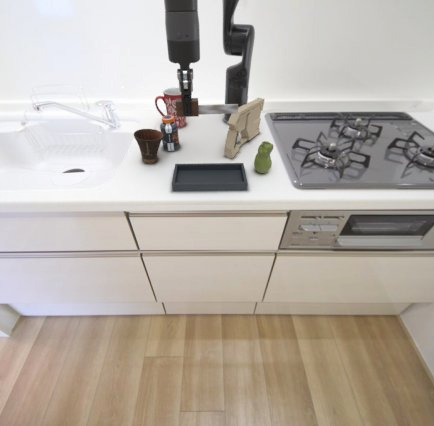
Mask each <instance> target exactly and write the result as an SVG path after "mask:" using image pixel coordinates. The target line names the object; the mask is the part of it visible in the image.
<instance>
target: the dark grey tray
mask: <svg viewBox="0 0 434 426" xmlns="http://www.w3.org/2000/svg"><path fill="white" fill-rule="evenodd" d="M248 183H249V182H248V179H247V173H246V169H245V165H244V162H226V163H225V162H219V163H217V162H216V163H215V162H213V163H211V162H210V163H205V162H204V163H175V164H174V168H173V176H172V181H171V188H172V192H214V191H215V192H217V191H218V192H219V191H221V192H223V191H224V192H226V191H229V192H230V191H231V192H232V191H247V190H248V185H249V184H248Z"/></svg>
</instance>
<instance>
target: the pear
mask: <svg viewBox="0 0 434 426" xmlns="http://www.w3.org/2000/svg"><path fill="white" fill-rule="evenodd" d="M273 149H274V144H273V143H271V142H270V141H267V140H264V141H262V142H261V143H260V144H259V146H258V148H257V153H256V154H255V157H254V161H253V168H254V170H255V171H256V173H257V172H258V173H259V174H265V173H267V172H269V171H270V170H271V168H272V163H273V162H272V158H271V153H272V152H273Z"/></svg>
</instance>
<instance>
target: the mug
mask: <svg viewBox="0 0 434 426" xmlns="http://www.w3.org/2000/svg"><path fill="white" fill-rule="evenodd" d="M162 93H163V95H157V96H156V97H155V99H154V106H155V108H156V110H157V111H158V113H159V114H160V116H162V117H163V116H166V115H171V116H173V117H174V122H176V123H177V127H178V129H180V128H181V129H182V128H184V127H186V125H187V117H177V113H176V99H180V98H182V97H181V92H180V91H179V87H176V86H175V87H167V88H165V89H163V90H162ZM158 100H162V101H163V103H164V105H165V110H166V115H165V113H163V112H162V110H161V109H160V108H159V106H158Z"/></svg>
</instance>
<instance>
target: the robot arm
mask: <svg viewBox="0 0 434 426" xmlns="http://www.w3.org/2000/svg"><path fill="white" fill-rule="evenodd" d="M198 2H199V1H198V0H163V3H164V5H163V6H164V26H165V35H166V45H167V47H166V48H167V55H168V61H169V62H170V63H172V64H178V65H179V68H177V70H176V77H177V80H178V88H179V91H180V92H181V97H182V98H181V101H182V102H183V113H184V116H185V117H186V118H188V117H189V116H192V108H191V102H192V98H193V97H192V93H193V92H194V82H193V81H194V68H191V67H190V66H191V64H196V63H198V62H199V61H200V60H201V47H200V46H201V42H200V41H201V40H200V34H201V33H200V19H199V11H198V10H199V7H198V6H199V5H198ZM239 2H240V0H222V50H223V53H224V54H225V55H226V56H231V57H233V56H234V57H241V61H239V62H237V63H235V64H233V65H230V66H228V67H226V70H225V88H224V104H238V108H239V107H240V106H242V105H244V104H245V105H246V104H247V103H248V100H249V96H248V95H249V87H250V77H251V68H252V59H253V52H254V47H255V38H256V31H255V27H254V25H253V24H249V23H248V24H243V23H235V13H236V9H237V7H238V4H239ZM230 116H231V114H223V122H224V123H226V124H227V123H228V121H229V118H230Z"/></svg>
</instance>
